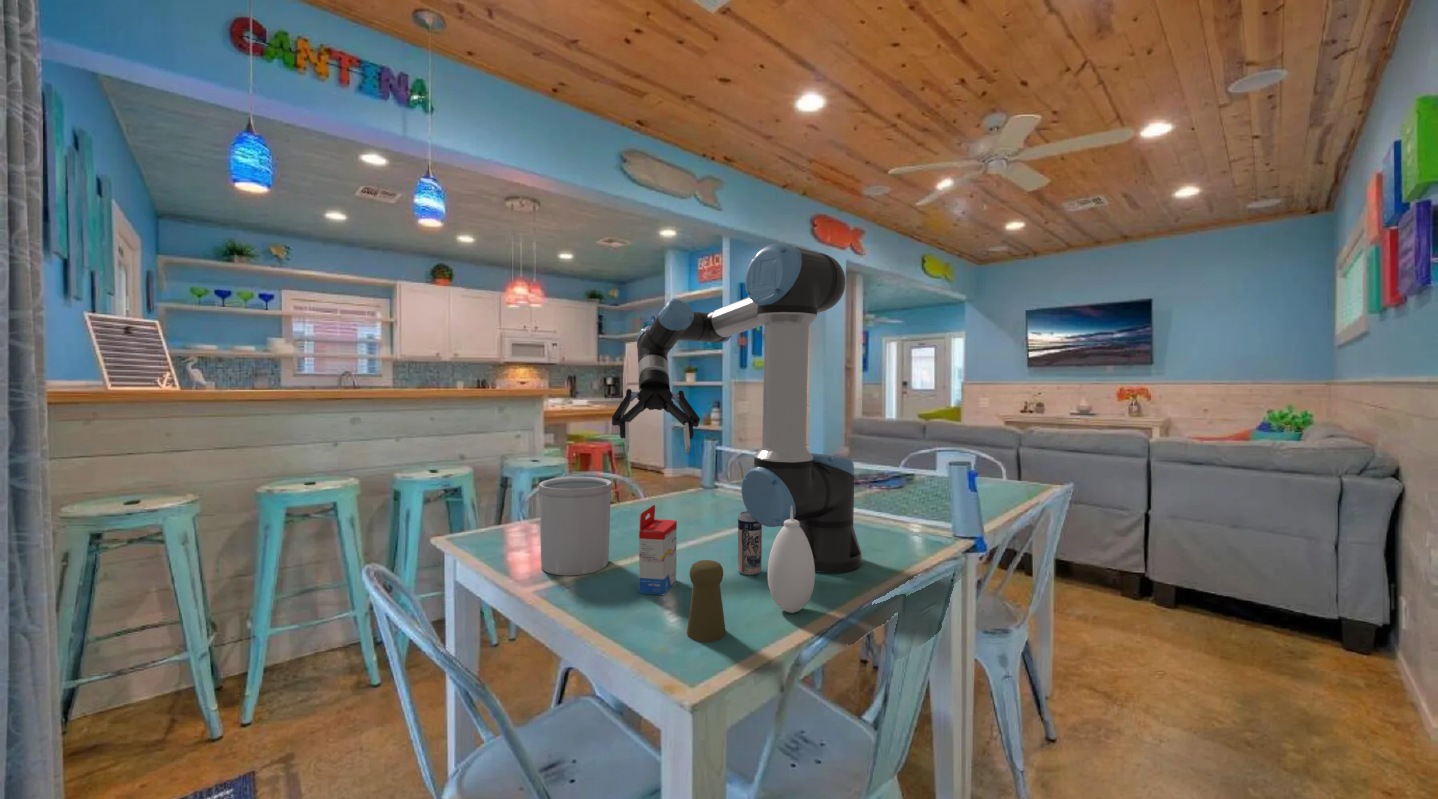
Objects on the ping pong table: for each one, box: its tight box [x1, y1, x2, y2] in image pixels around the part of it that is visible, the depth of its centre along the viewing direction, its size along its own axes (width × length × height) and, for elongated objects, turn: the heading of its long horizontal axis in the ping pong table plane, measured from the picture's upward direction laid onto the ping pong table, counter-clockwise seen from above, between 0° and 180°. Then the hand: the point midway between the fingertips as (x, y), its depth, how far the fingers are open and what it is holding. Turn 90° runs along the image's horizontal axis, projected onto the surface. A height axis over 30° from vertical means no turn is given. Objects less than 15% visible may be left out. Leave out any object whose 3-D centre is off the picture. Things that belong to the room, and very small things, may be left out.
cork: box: [686, 559, 727, 643], centre depth 85 cm, size 6×6×11 cm
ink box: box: [638, 504, 678, 596], centre depth 104 cm, size 8×5×15 cm, turn 168°
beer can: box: [737, 511, 763, 576], centre depth 112 cm, size 5×5×12 cm
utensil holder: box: [538, 476, 613, 576], centre depth 116 cm, size 15×15×18 cm
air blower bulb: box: [767, 505, 816, 614], centre depth 93 cm, size 8×8×18 cm
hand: (657, 449), depth 124 cm, fingers open, 13 cm apart
